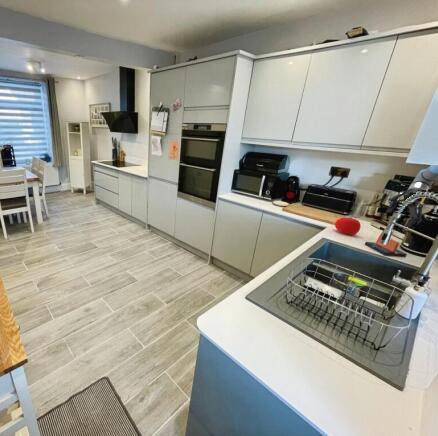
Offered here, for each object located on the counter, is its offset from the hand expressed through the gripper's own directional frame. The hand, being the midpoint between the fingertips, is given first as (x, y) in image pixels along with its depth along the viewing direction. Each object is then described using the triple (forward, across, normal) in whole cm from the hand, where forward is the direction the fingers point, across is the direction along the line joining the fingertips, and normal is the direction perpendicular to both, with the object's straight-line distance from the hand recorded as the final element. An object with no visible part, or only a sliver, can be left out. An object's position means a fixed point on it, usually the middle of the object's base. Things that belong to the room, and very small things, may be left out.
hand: (397, 220), depth 136 cm
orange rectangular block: (+11, -11, -9) cm, 18 cm away
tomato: (+5, -3, -33) cm, 33 cm away
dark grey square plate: (+13, -12, -10) cm, 20 cm away
